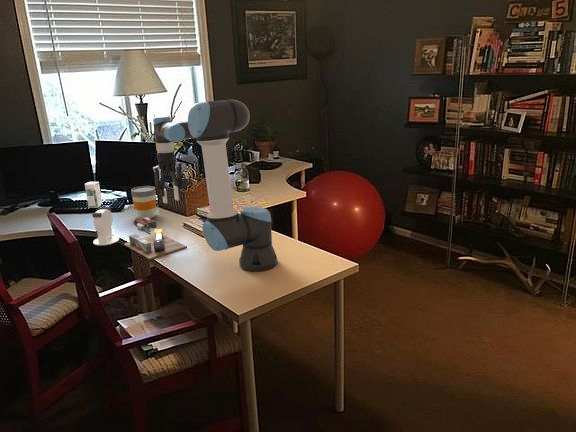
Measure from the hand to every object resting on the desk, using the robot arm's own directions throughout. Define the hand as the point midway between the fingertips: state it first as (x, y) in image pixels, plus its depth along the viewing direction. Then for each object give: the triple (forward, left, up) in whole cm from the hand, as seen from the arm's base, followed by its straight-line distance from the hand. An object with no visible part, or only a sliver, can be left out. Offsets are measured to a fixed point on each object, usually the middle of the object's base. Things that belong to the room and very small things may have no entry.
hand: (171, 201), depth 223 cm
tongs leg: (-6, +11, -16) cm, 20 cm away
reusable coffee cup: (+37, -4, -17) cm, 41 cm away
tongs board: (-6, +14, -17) cm, 22 cm away
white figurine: (+18, +26, -17) cm, 36 cm away
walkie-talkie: (+21, +4, -17) cm, 28 cm away
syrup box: (+74, +8, -17) cm, 77 cm away
